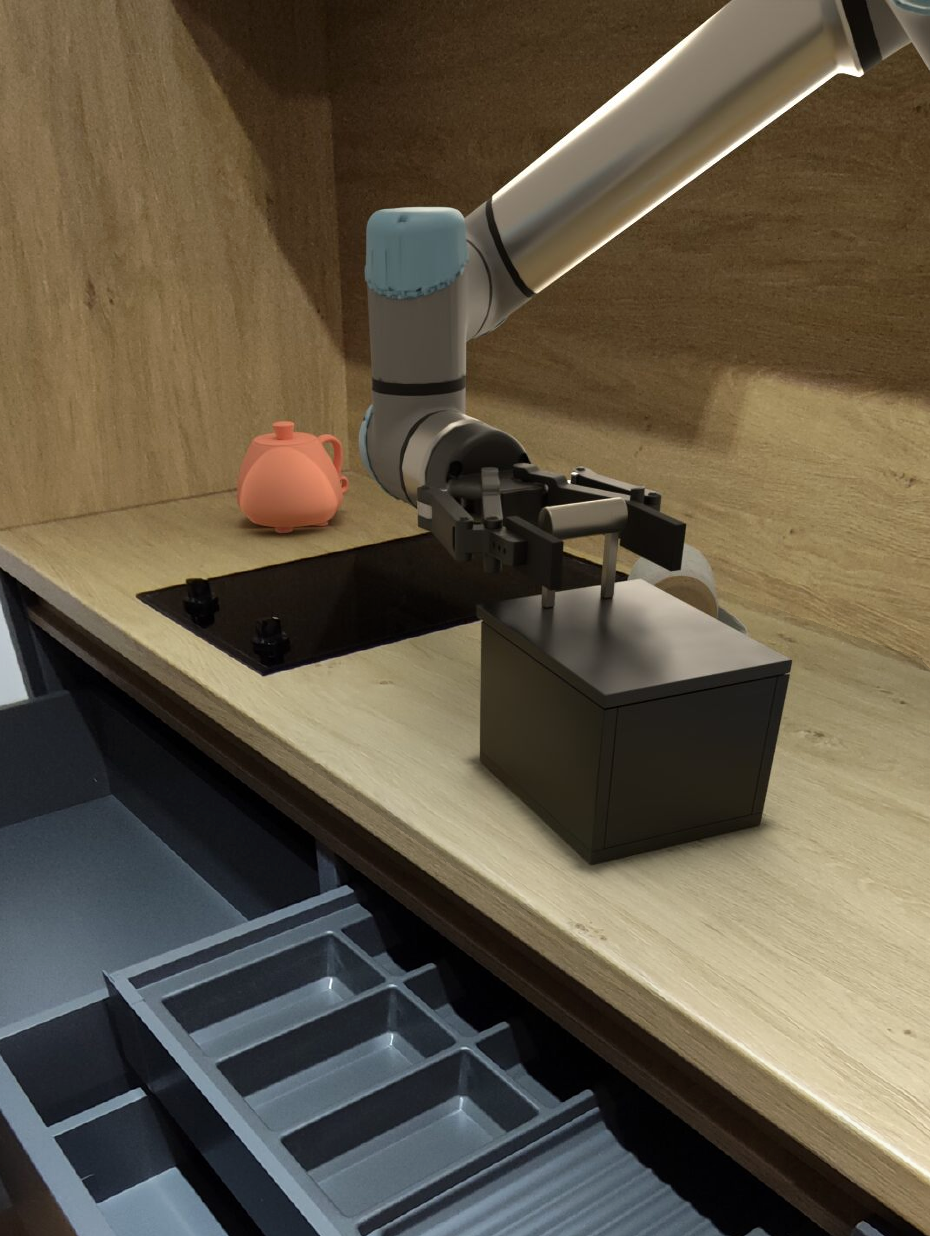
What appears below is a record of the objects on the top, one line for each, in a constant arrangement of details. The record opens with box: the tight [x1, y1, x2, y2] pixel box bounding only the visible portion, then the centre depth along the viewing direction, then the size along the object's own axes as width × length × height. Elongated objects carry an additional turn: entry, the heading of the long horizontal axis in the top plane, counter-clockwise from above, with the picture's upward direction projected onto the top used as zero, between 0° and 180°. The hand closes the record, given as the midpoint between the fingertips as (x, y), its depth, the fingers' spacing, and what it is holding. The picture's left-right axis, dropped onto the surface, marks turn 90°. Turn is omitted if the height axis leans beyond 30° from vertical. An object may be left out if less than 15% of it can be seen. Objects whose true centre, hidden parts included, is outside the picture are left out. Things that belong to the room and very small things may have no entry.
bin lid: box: [476, 497, 793, 708], centre depth 69 cm, size 18×13×7 cm
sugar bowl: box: [236, 420, 350, 534], centre depth 128 cm, size 12×14×10 cm
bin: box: [479, 620, 791, 866], centre depth 74 cm, size 17×13×10 cm
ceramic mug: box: [626, 542, 750, 637], centre depth 95 cm, size 11×8×8 cm
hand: (618, 556), depth 69 cm, fingers open, 8 cm apart
